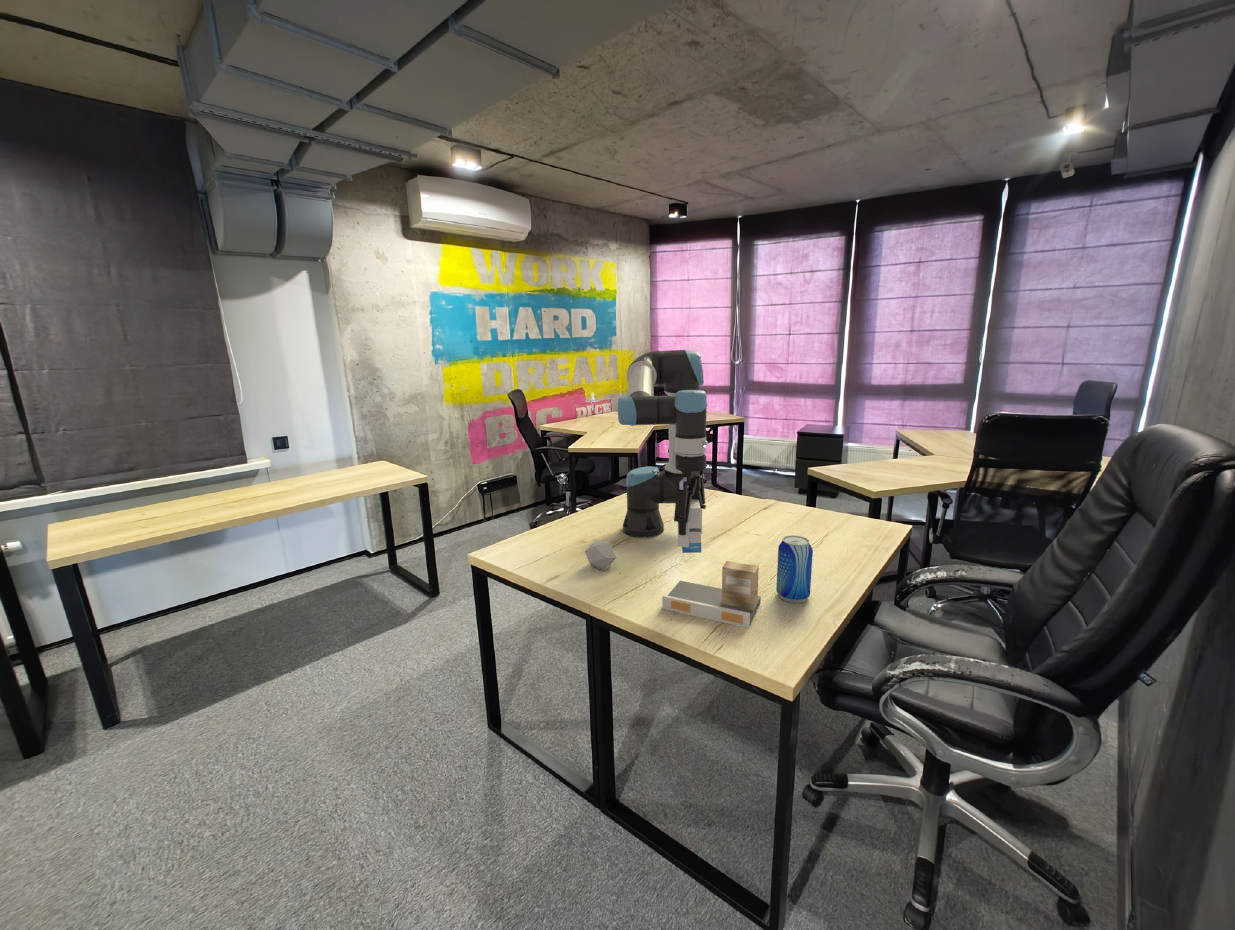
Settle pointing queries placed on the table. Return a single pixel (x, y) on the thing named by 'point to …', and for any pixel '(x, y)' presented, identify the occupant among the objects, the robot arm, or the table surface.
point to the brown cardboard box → (740, 585)
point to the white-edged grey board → (706, 604)
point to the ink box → (694, 528)
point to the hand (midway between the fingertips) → (690, 539)
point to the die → (600, 554)
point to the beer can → (794, 569)
